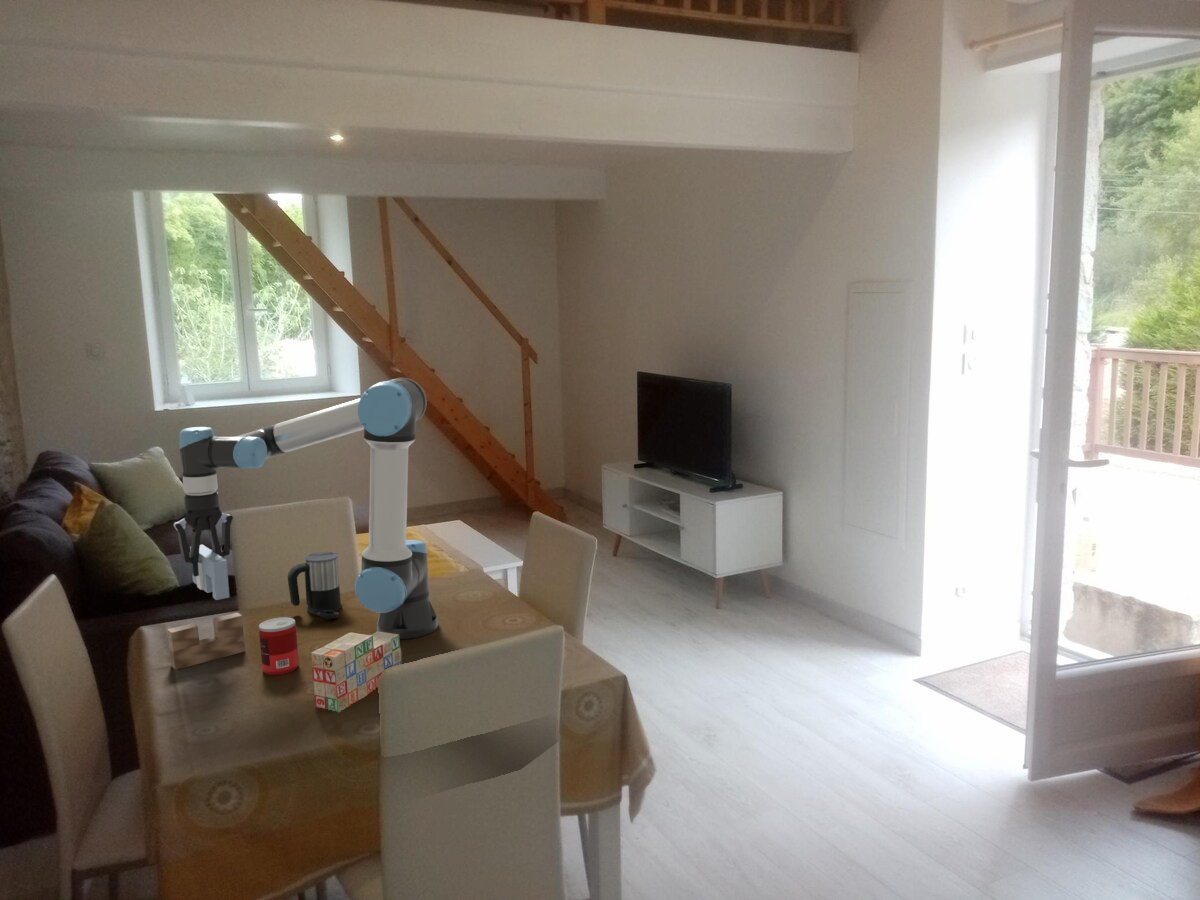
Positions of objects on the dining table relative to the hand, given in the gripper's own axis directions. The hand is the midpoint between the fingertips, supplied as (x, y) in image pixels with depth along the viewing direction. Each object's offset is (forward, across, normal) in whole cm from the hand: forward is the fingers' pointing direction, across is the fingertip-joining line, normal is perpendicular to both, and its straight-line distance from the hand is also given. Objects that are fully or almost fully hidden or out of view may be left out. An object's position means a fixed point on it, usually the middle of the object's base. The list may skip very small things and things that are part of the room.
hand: (208, 586), depth 219 cm
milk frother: (+15, -30, -4) cm, 34 cm away
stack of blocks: (+15, -16, +49) cm, 53 cm away
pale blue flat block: (0, 0, +1) cm, 1 cm away
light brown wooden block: (+15, +4, +8) cm, 17 cm away
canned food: (+15, -7, +26) cm, 30 cm away
